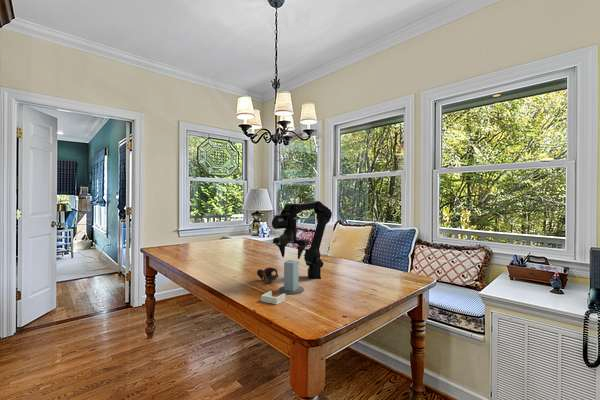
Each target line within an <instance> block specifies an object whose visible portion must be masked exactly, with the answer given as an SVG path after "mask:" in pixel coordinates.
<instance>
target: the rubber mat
mask: <svg viewBox="0 0 600 400" xmlns="http://www.w3.org/2000/svg"><path fill="white" fill-rule="evenodd" d="M304 291H305V288H304V287H303V286H301V285H298V289H296V290H295V291H288V290H284V285H283V286H280V287H279V288H278V292H279V293H280V294H283V293H285V295H298V294H302V293H304Z"/></svg>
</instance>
